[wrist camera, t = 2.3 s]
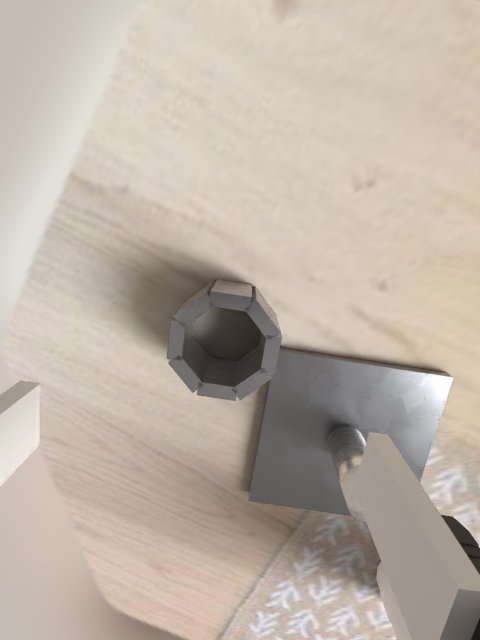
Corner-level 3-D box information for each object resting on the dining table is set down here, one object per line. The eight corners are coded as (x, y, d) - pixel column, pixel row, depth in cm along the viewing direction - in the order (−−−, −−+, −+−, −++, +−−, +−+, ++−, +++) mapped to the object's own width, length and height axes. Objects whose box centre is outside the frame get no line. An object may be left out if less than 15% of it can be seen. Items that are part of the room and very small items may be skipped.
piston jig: (275, 346, 30) (283, 389, 23) (446, 372, 30) (513, 424, 23) (248, 492, 34) (247, 573, 26) (402, 515, 34) (446, 601, 26)
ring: (187, 274, 29) (174, 285, 24) (281, 289, 29) (288, 302, 24) (177, 363, 31) (163, 390, 26) (266, 377, 31) (269, 405, 26)
